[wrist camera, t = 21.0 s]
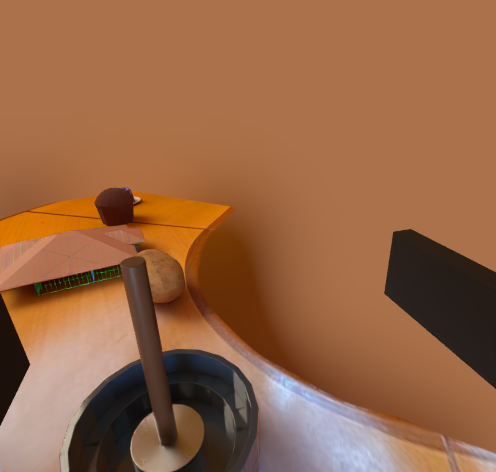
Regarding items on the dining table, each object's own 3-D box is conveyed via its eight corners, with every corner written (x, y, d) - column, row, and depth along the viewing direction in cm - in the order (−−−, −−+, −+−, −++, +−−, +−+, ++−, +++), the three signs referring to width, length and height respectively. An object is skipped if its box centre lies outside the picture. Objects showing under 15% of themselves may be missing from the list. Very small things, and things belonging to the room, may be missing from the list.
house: (155, 269, 70) (149, 234, 67) (-32, 314, 57) (-51, 275, 54) (139, 233, 89) (133, 205, 86) (-5, 262, 76) (-17, 230, 73)
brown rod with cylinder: (221, 450, 32) (200, 256, 24) (164, 514, 28) (111, 300, 19) (178, 411, 37) (147, 235, 28) (122, 460, 32) (63, 266, 23)
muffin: (98, 218, 102) (90, 188, 98) (133, 212, 107) (128, 182, 103) (101, 230, 93) (93, 197, 89) (140, 223, 97) (134, 190, 93)
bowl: (293, 448, 33) (294, 403, 31) (149, 652, 21) (131, 607, 19) (185, 367, 44) (180, 329, 41) (48, 474, 32) (28, 429, 29)
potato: (144, 326, 52) (136, 284, 49) (126, 287, 63) (118, 251, 60) (200, 306, 57) (195, 266, 54) (173, 273, 68) (168, 239, 65)
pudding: (139, 206, 113) (137, 191, 111) (103, 210, 111) (100, 195, 108) (142, 197, 124) (140, 183, 121) (109, 200, 121) (106, 186, 119)
